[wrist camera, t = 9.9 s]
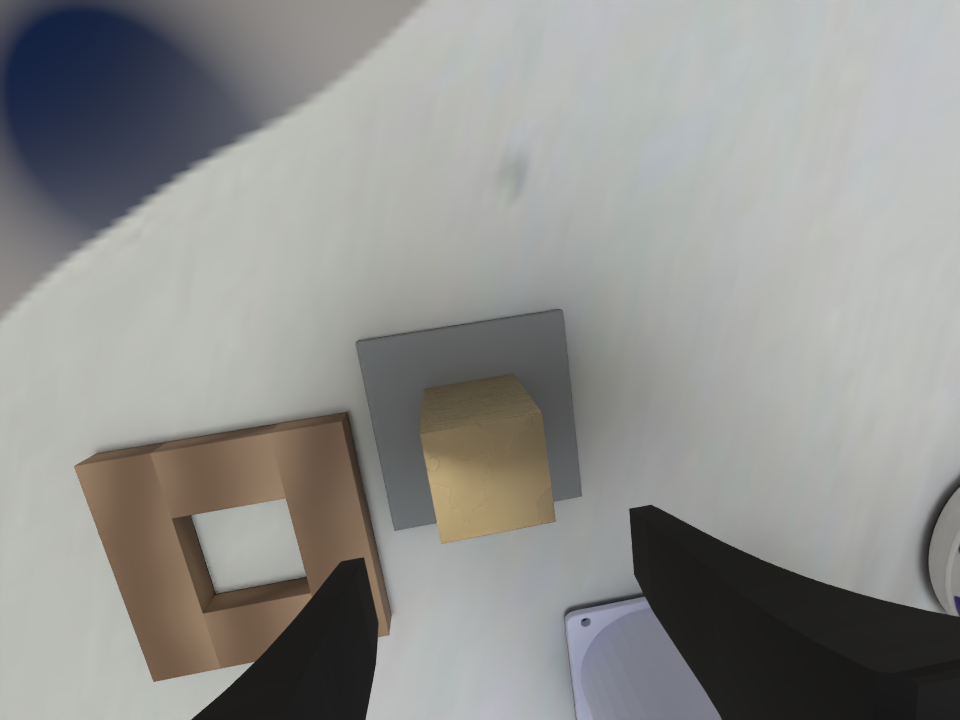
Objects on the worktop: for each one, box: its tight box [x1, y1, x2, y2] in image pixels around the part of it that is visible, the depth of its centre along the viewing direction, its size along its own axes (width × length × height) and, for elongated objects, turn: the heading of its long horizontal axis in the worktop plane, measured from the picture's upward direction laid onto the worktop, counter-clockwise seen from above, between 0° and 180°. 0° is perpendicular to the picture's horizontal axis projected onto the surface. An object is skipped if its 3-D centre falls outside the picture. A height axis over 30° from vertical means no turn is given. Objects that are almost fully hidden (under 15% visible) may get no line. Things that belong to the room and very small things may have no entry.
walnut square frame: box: [74, 412, 391, 682], centre depth 21 cm, size 11×11×1 cm
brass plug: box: [420, 373, 556, 544], centre depth 18 cm, size 4×4×6 cm
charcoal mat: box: [356, 309, 582, 531], centre depth 21 cm, size 9×9×1 cm
